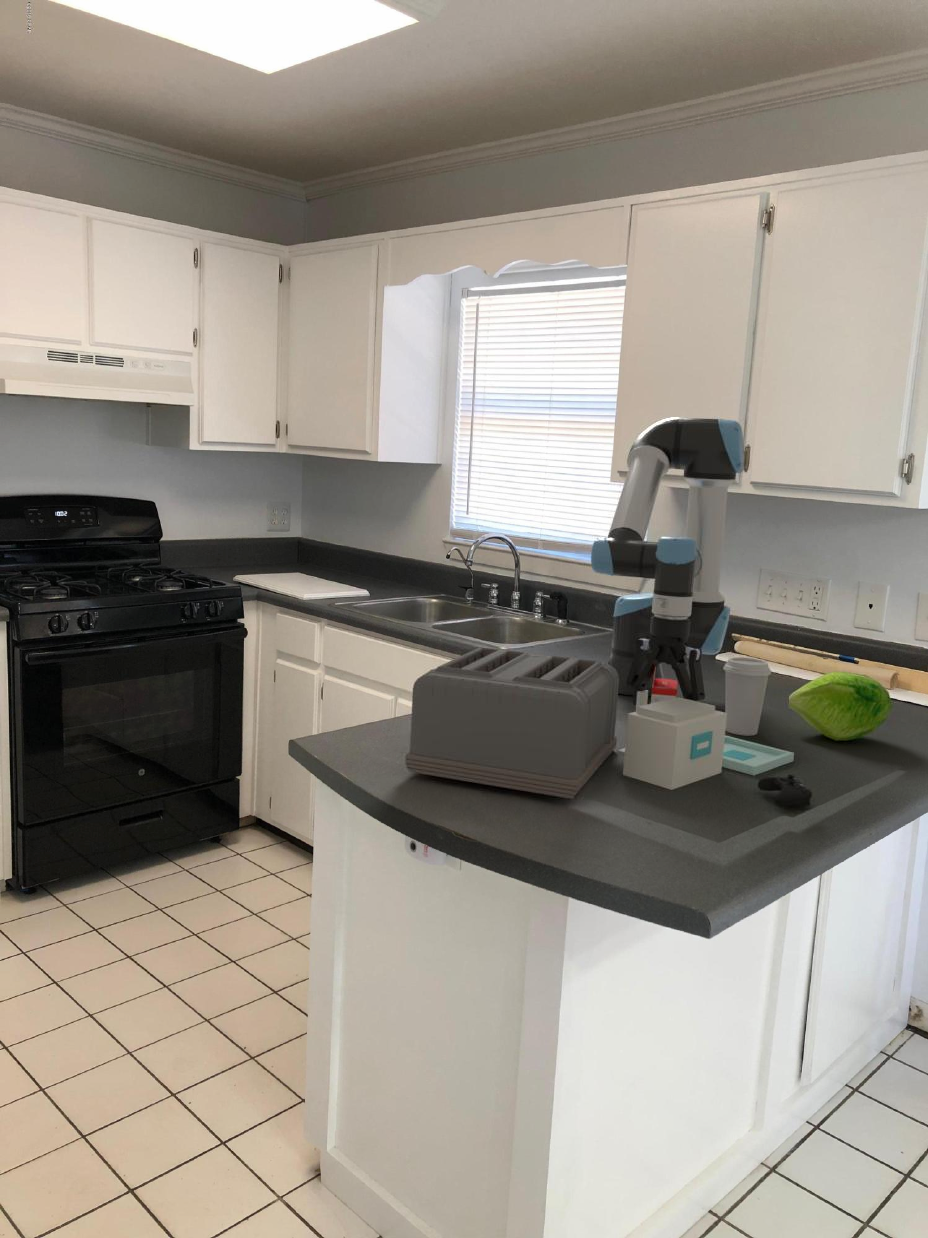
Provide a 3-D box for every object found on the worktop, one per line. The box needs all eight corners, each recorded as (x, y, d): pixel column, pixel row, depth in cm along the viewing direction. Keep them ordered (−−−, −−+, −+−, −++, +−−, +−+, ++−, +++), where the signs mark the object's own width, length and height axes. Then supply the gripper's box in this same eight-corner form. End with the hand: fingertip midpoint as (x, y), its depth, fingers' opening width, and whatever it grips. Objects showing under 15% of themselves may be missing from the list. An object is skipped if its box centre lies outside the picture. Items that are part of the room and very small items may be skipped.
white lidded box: (609, 770, 180) (614, 703, 178) (660, 755, 191) (665, 692, 189) (674, 790, 170) (680, 720, 169) (723, 773, 182) (730, 707, 180)
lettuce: (788, 722, 223) (795, 661, 221) (887, 735, 216) (895, 672, 213) (783, 737, 209) (790, 672, 207) (888, 752, 202) (896, 685, 200)
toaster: (620, 746, 197) (628, 655, 194) (576, 800, 164) (584, 691, 161) (474, 724, 207) (479, 638, 204) (404, 771, 174) (409, 668, 171)
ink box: (672, 747, 197) (679, 673, 195) (647, 745, 198) (653, 671, 196) (672, 736, 205) (679, 665, 203) (648, 734, 206) (654, 663, 204)
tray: (681, 755, 192) (682, 747, 192) (723, 742, 203) (723, 735, 202) (753, 775, 182) (754, 766, 181) (793, 761, 192) (794, 753, 192)
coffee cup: (768, 730, 215) (775, 660, 212) (760, 740, 206) (768, 667, 204) (722, 723, 219) (728, 654, 216) (713, 732, 210) (720, 661, 208)
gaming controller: (753, 782, 172) (781, 760, 172) (771, 805, 173) (799, 783, 173) (774, 802, 162) (804, 779, 162) (793, 826, 163) (823, 803, 163)
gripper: (613, 609, 203) (604, 718, 206) (710, 626, 188) (699, 743, 191) (635, 607, 208) (626, 713, 211) (731, 623, 193) (720, 737, 196)
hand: (661, 728), depth 201 cm, fingers open, 9 cm apart
